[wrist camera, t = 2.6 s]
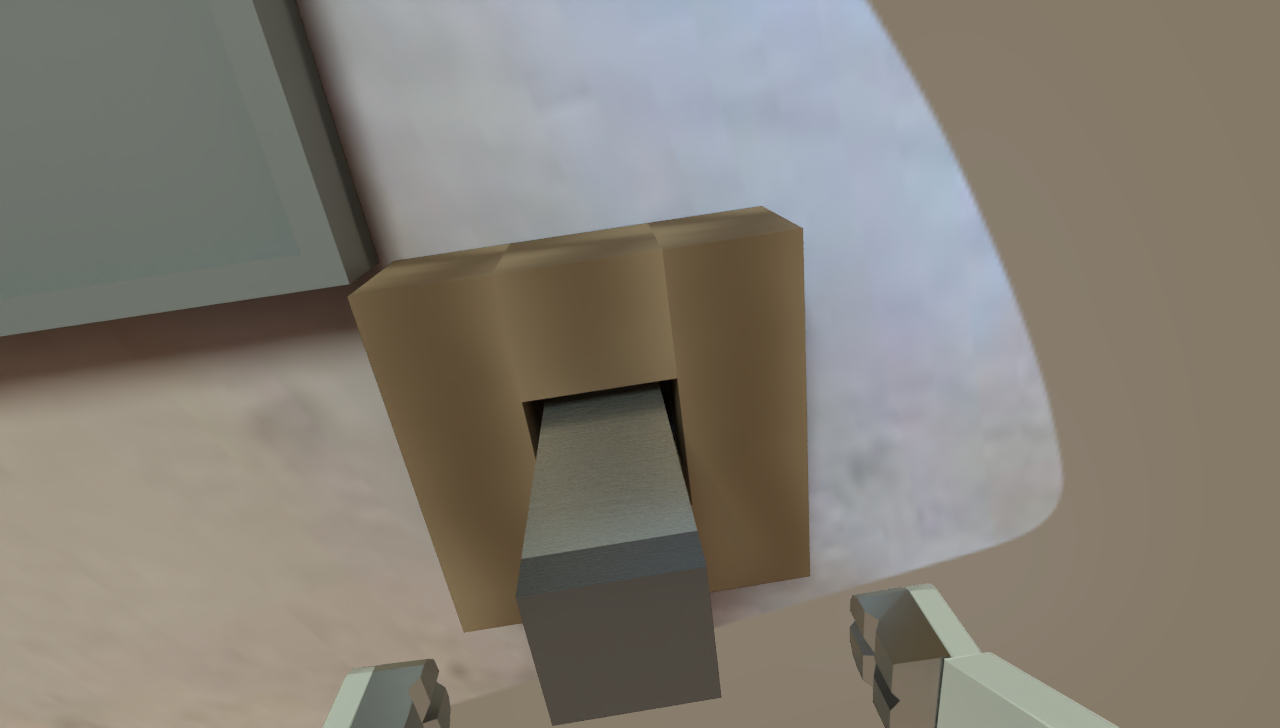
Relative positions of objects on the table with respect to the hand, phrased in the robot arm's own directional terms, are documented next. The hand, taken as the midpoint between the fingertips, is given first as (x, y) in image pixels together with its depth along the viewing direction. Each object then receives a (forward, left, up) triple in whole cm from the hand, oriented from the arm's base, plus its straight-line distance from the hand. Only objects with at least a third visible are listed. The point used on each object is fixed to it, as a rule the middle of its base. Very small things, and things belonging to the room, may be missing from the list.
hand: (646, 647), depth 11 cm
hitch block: (0, 0, -11) cm, 11 cm away
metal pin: (0, 0, -11) cm, 11 cm away
